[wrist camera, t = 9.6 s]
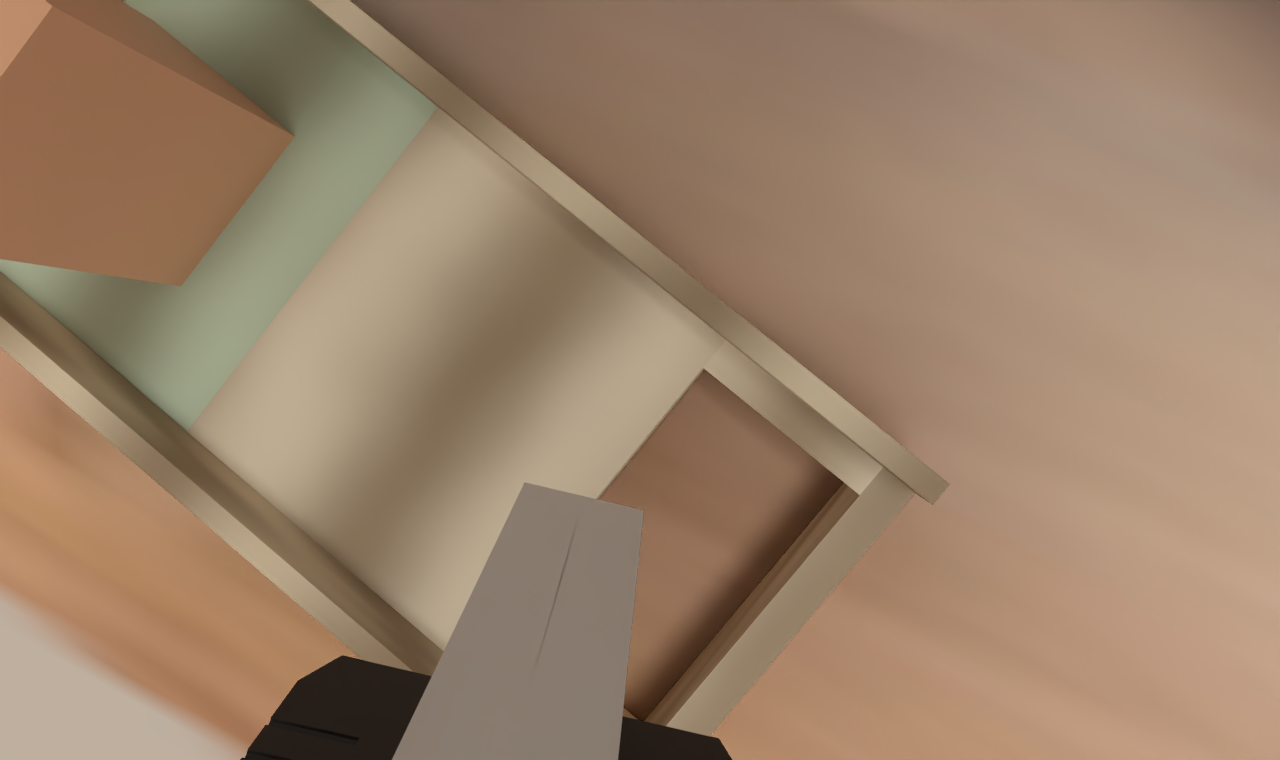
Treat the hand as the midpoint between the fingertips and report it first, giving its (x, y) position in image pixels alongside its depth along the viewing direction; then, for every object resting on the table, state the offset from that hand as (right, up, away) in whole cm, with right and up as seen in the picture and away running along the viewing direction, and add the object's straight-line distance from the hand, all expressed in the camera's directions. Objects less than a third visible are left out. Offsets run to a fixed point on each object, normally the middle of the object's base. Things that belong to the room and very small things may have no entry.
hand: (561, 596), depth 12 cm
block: (-12, +9, +13) cm, 20 cm away
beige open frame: (-7, +5, +16) cm, 18 cm away
